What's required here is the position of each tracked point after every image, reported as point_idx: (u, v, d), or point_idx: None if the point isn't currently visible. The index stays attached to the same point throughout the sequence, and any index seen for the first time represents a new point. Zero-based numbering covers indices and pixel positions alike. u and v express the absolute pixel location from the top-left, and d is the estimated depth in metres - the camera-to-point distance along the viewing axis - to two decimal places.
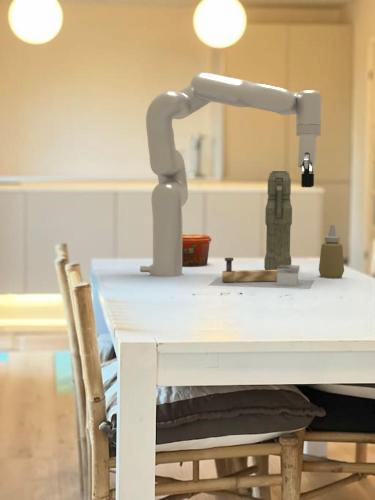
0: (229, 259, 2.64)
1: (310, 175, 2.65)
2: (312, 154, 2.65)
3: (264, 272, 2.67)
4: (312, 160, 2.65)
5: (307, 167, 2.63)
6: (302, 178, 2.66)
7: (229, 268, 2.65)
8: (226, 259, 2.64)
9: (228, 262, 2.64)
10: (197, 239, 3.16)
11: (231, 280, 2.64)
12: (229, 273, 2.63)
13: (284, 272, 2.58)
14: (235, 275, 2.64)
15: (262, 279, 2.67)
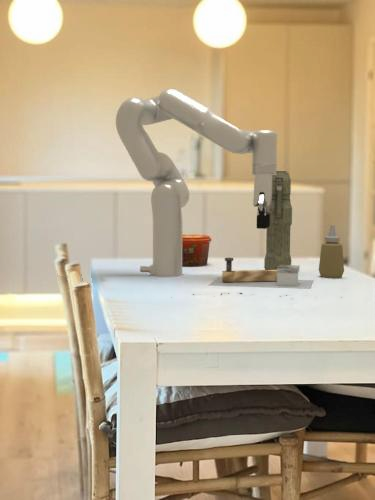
0: (229, 259, 2.64)
1: (265, 217, 2.69)
2: (267, 194, 2.67)
3: (264, 272, 2.67)
4: (267, 200, 2.67)
5: (262, 209, 2.66)
6: (257, 219, 2.69)
7: (229, 268, 2.65)
8: (226, 259, 2.64)
9: (228, 262, 2.64)
10: (197, 239, 3.16)
11: (231, 280, 2.64)
12: (229, 273, 2.63)
13: (284, 272, 2.58)
14: (235, 275, 2.64)
15: (262, 279, 2.67)
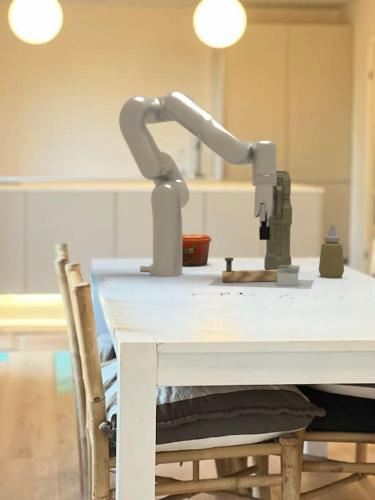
0: (229, 259, 2.64)
1: (268, 228, 2.72)
2: (268, 204, 2.67)
3: (264, 272, 2.67)
4: (268, 210, 2.67)
5: (264, 222, 2.70)
6: (260, 231, 2.73)
7: (229, 268, 2.65)
8: (226, 259, 2.64)
9: (228, 262, 2.64)
10: (197, 239, 3.16)
11: (231, 280, 2.64)
12: (229, 273, 2.63)
13: (284, 272, 2.58)
14: (235, 275, 2.64)
15: (262, 279, 2.67)
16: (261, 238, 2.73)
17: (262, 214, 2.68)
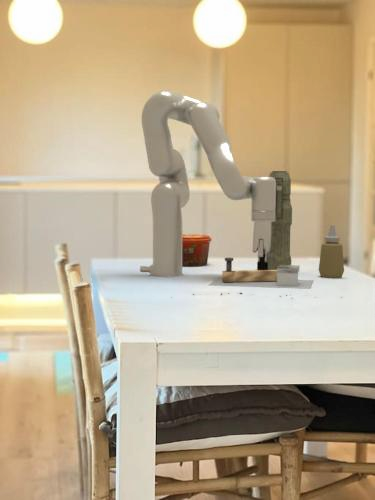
0: (229, 259, 2.64)
1: (265, 263, 2.73)
2: (266, 240, 2.68)
3: (264, 272, 2.67)
4: (266, 246, 2.68)
5: (262, 258, 2.71)
6: (258, 266, 2.74)
7: (229, 268, 2.65)
8: (226, 259, 2.64)
9: (228, 262, 2.64)
10: (197, 239, 3.16)
11: (231, 280, 2.64)
12: (229, 273, 2.63)
13: (284, 272, 2.58)
14: (235, 275, 2.64)
15: (262, 279, 2.67)
16: None
17: (260, 250, 2.69)
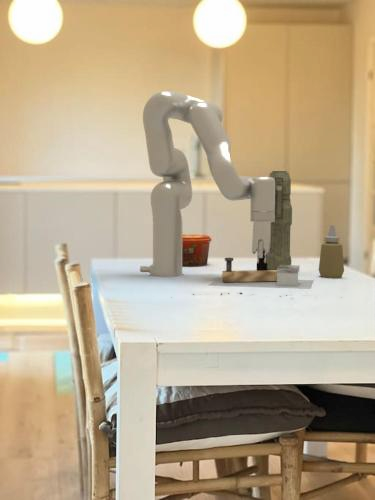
0: (229, 259, 2.64)
1: (265, 264, 2.70)
2: (266, 241, 2.65)
3: (264, 272, 2.66)
4: (266, 247, 2.65)
5: (262, 259, 2.67)
6: (257, 267, 2.70)
7: (229, 268, 2.65)
8: (226, 259, 2.64)
9: (228, 262, 2.64)
10: (197, 239, 3.16)
11: (231, 280, 2.64)
12: (229, 273, 2.63)
13: (284, 272, 2.58)
14: (235, 275, 2.64)
15: (262, 279, 2.66)
16: None
17: (260, 251, 2.65)
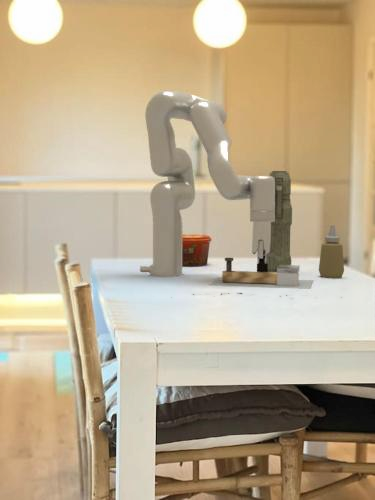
0: (227, 259, 2.64)
1: (265, 265, 2.65)
2: (266, 241, 2.60)
3: (263, 274, 2.62)
4: (266, 247, 2.61)
5: (262, 259, 2.63)
6: (257, 268, 2.66)
7: (228, 268, 2.65)
8: (225, 259, 2.64)
9: (227, 262, 2.65)
10: (197, 239, 3.16)
11: (228, 280, 2.64)
12: (226, 273, 2.64)
13: (284, 272, 2.58)
14: (233, 275, 2.64)
15: (261, 281, 2.62)
16: None
17: (260, 251, 2.61)
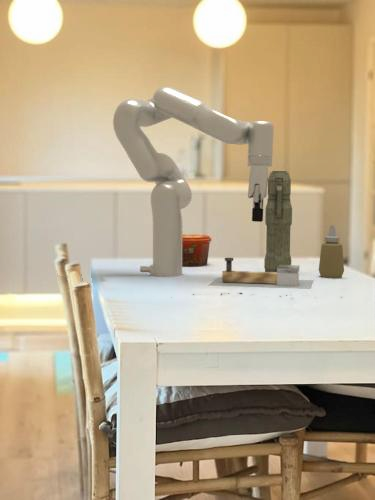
0: (227, 259, 2.64)
1: (261, 210, 2.69)
2: (262, 185, 2.64)
3: (263, 274, 2.62)
4: (262, 191, 2.64)
5: (258, 203, 2.67)
6: (253, 212, 2.70)
7: (228, 268, 2.65)
8: (225, 259, 2.64)
9: (227, 262, 2.65)
10: (197, 239, 3.16)
11: (228, 280, 2.64)
12: (226, 273, 2.64)
13: (284, 272, 2.58)
14: (233, 275, 2.64)
15: (261, 281, 2.62)
16: (254, 219, 2.70)
17: (256, 195, 2.65)
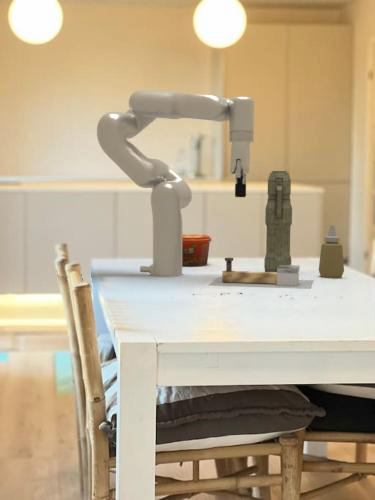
0: (227, 259, 2.64)
1: (243, 185, 2.70)
2: (244, 160, 2.65)
3: (263, 274, 2.62)
4: (244, 166, 2.66)
5: (240, 179, 2.68)
6: (236, 188, 2.71)
7: (228, 268, 2.65)
8: (225, 259, 2.64)
9: (227, 262, 2.65)
10: (197, 239, 3.16)
11: (228, 280, 2.64)
12: (226, 273, 2.64)
13: (284, 272, 2.58)
14: (233, 275, 2.64)
15: (261, 281, 2.62)
16: (237, 195, 2.71)
17: (238, 170, 2.66)
